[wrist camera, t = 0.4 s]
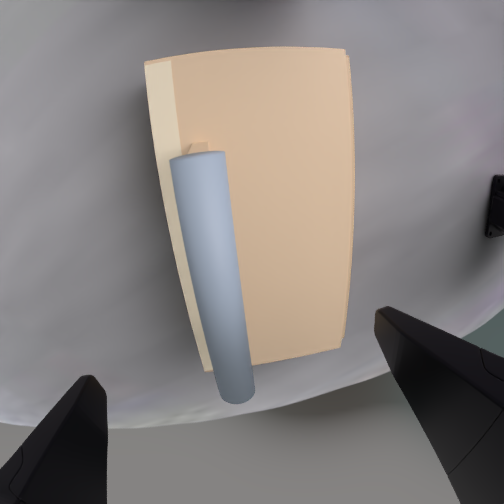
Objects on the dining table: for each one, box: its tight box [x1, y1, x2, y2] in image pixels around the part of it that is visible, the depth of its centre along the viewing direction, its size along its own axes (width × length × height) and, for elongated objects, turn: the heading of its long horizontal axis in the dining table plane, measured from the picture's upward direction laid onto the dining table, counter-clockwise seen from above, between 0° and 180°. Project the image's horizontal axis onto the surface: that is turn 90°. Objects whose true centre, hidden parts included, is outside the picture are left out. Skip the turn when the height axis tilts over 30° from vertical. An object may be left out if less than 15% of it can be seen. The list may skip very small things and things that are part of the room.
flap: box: [144, 47, 352, 404], centre depth 13 cm, size 9×18×7 cm, turn 5°
